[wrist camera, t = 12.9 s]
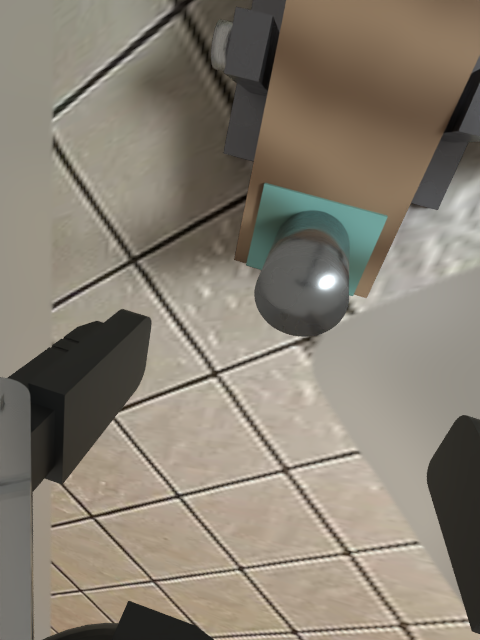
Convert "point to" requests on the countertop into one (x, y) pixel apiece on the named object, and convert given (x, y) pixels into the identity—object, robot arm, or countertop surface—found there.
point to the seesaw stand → (254, 78)
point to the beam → (356, 118)
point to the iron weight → (305, 275)
